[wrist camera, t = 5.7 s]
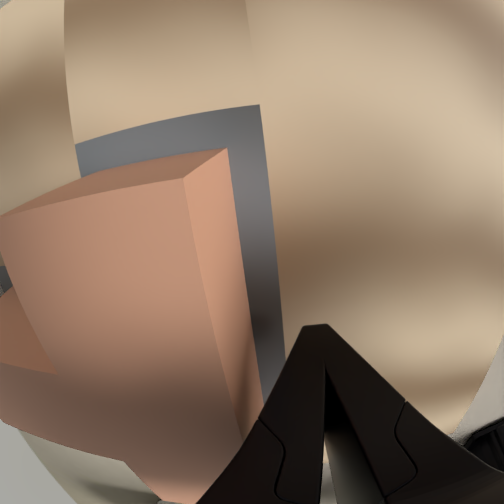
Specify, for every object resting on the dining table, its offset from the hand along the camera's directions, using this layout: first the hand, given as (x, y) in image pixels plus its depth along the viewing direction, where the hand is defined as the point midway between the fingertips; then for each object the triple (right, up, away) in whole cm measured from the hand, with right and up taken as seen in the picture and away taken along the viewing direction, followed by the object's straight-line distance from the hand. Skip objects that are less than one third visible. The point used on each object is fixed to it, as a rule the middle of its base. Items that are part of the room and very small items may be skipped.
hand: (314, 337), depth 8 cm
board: (-2, +2, +2) cm, 3 cm away
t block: (-6, 0, +2) cm, 6 cm away
